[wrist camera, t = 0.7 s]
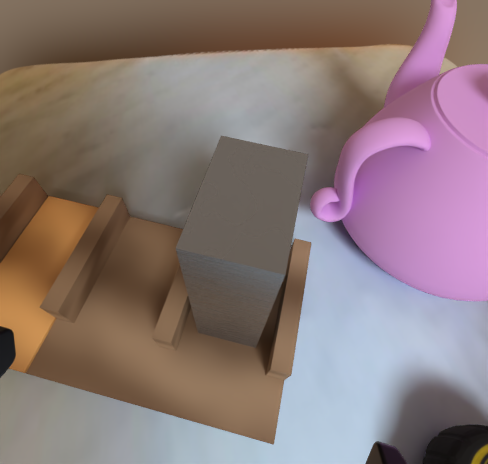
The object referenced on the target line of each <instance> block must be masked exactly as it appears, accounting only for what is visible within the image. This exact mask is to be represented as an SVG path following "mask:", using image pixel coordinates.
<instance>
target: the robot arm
mask: <svg viewBox="0 0 488 464" xmlns="http://www.w3.org/2000/svg"><path fill="white" fill-rule="evenodd" d="M15 357H16V350H15V340H14V333H13V331H12V330H11V329H9V328H6V327H2V326H0V378H1V376H2V375H3V374H4V373H5V372H6V371H7V370H8V368H9V367H10V366H11V365H12V363H13V362H14V360H15ZM366 464H408V463H407V462H406V460H405V459H404V457H403V456H402V454H401V453H400V451H399V450H398V449H397V448H396V447H394V446H392V445H389V444H385V443H382V442H375V443H374V445H373V447H372V449H371V452H370V454H369V456H368V459H367V461H366Z"/></svg>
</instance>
